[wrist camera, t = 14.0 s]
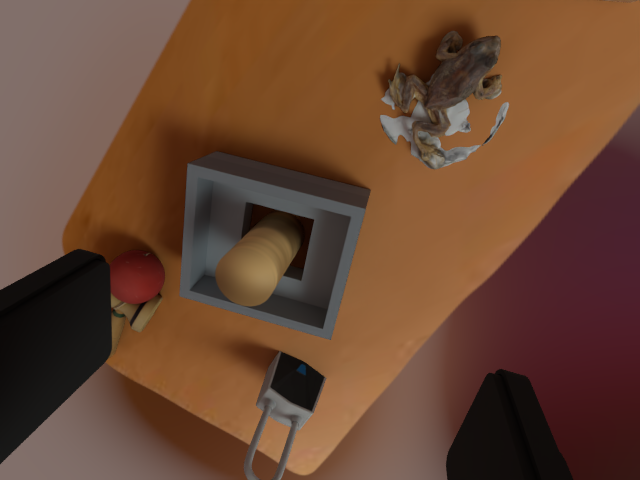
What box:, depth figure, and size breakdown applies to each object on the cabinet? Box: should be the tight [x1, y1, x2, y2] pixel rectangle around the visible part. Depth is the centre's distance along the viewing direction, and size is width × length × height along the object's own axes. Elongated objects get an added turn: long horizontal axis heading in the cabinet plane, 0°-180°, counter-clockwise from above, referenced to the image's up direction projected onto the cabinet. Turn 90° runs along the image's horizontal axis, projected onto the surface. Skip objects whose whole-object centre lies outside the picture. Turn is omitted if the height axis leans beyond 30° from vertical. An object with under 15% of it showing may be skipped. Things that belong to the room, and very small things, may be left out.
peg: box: [215, 211, 304, 306], centre depth 37 cm, size 5×5×11 cm
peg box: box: [180, 151, 371, 340], centre depth 39 cm, size 14×16×6 cm
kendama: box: [109, 250, 165, 358], centre depth 48 cm, size 8×6×18 cm
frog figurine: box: [380, 31, 509, 169], centre depth 33 cm, size 12×12×4 cm
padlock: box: [244, 351, 326, 480], centre depth 42 cm, size 7×4×15 cm, turn 61°
